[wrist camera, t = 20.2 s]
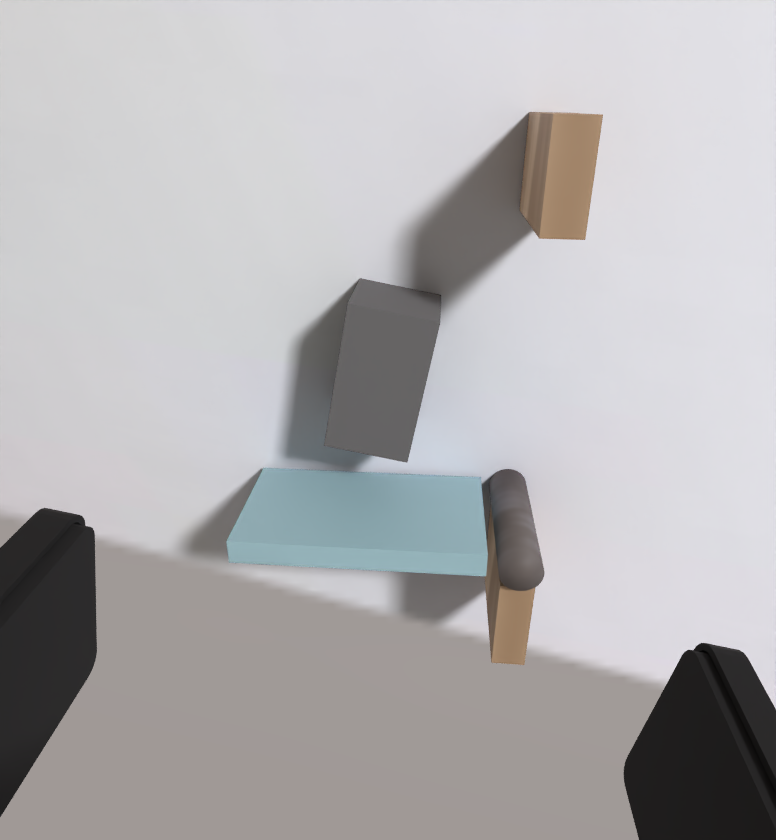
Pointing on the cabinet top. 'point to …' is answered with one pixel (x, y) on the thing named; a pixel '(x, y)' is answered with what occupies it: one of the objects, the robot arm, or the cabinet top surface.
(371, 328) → the charcoal brick
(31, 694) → the robot arm
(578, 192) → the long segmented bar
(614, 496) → the cabinet top surface
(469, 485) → the door
